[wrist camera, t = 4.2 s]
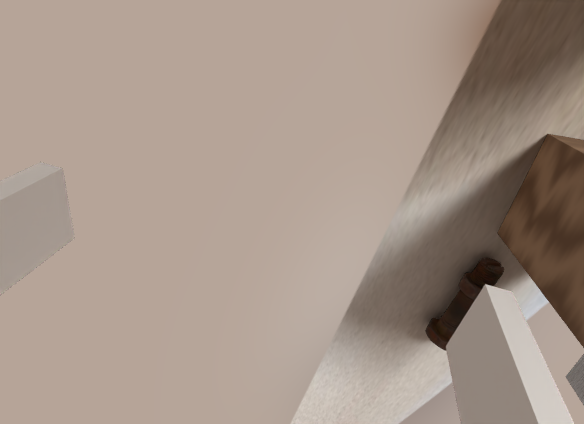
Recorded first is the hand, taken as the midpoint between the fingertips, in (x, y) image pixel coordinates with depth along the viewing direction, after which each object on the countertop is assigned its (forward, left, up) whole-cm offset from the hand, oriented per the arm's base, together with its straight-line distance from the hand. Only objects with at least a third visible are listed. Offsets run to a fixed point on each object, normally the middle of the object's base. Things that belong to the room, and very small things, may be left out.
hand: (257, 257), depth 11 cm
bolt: (+26, +27, -36) cm, 52 cm away
